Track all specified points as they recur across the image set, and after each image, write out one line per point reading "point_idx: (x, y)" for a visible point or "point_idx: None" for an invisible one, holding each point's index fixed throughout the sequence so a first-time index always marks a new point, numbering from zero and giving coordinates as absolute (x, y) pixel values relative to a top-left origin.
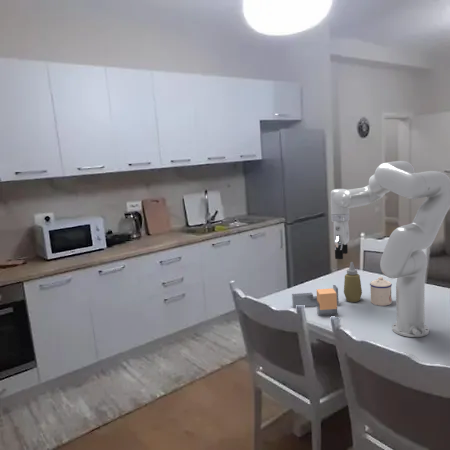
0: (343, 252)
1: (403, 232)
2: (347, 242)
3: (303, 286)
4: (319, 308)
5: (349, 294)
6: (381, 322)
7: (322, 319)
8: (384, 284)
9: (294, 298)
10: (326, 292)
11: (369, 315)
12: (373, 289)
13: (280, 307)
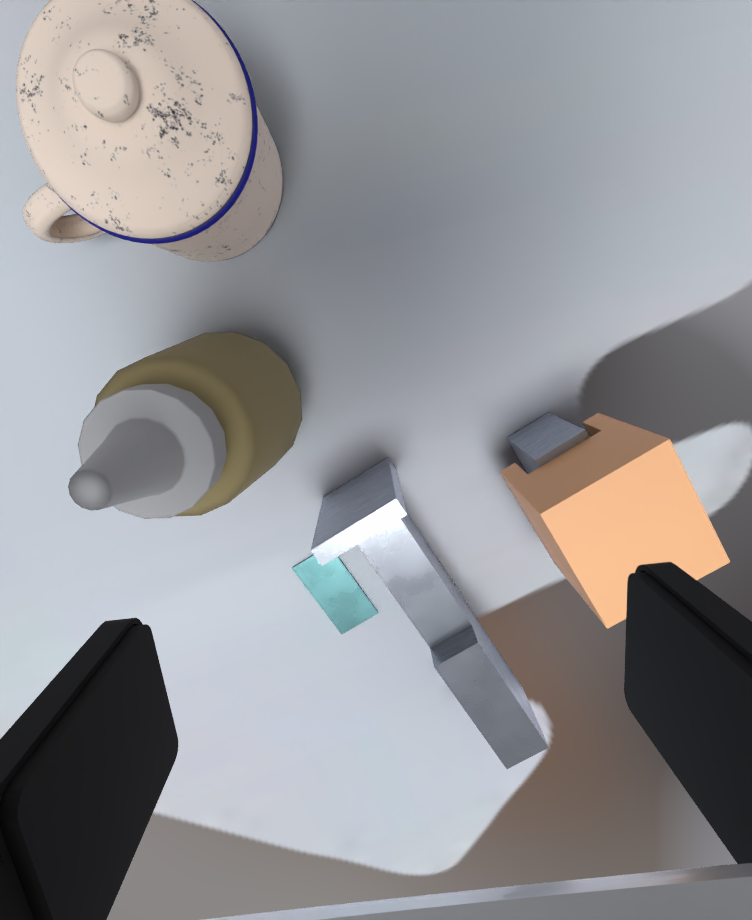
0: (156, 707)
1: None
2: (506, 914)
3: None
4: None
5: (300, 413)
6: (610, 74)
7: None
8: (196, 38)
9: (537, 726)
10: (670, 525)
11: (502, 197)
12: (246, 192)
13: None
